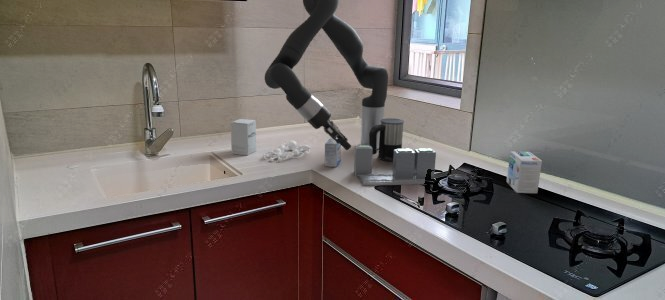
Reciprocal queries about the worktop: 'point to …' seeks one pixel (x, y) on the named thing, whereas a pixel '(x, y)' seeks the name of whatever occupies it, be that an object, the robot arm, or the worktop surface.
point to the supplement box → (243, 136)
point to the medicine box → (332, 153)
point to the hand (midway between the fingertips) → (347, 144)
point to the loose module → (363, 160)
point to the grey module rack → (405, 168)
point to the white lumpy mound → (280, 152)
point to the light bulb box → (524, 172)
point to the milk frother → (387, 137)
